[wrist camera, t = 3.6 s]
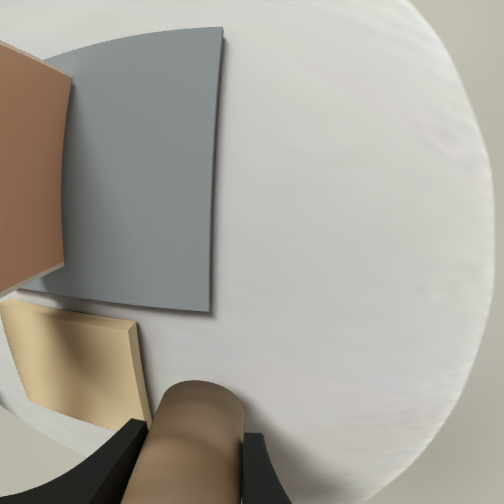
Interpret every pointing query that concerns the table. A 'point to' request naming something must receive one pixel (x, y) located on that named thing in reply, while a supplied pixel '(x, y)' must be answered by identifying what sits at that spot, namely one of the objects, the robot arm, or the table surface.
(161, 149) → the mat
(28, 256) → the tile
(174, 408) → the dowel
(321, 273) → the table surface
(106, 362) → the board
